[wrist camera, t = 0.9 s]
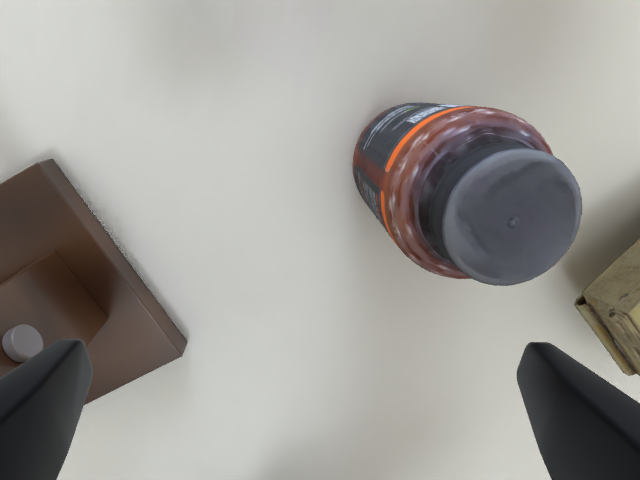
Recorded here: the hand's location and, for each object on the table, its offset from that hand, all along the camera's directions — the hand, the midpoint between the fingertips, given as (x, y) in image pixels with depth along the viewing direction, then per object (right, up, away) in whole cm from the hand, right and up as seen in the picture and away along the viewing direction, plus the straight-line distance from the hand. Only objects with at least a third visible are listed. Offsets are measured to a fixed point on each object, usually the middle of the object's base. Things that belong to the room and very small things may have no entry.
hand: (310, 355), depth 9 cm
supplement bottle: (+5, +7, +14) cm, 16 cm away
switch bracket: (-14, -1, +15) cm, 21 cm away
